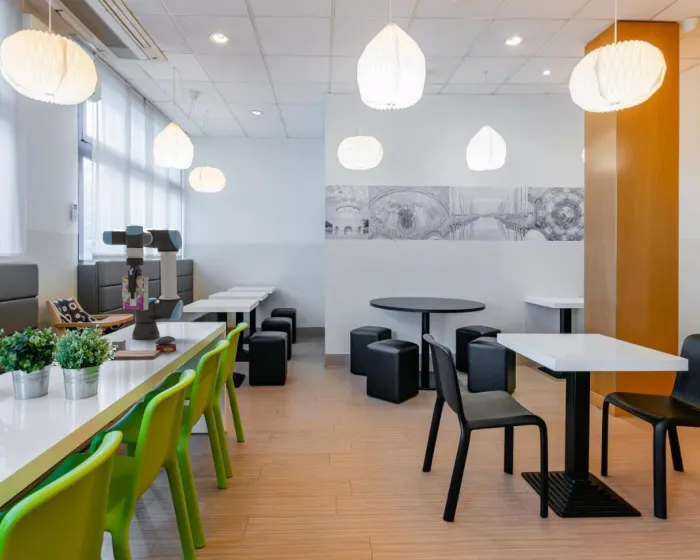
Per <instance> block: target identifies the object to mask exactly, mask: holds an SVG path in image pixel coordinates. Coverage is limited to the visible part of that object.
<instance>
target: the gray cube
mask: <svg viewBox="0 0 700 560" xmlns="http://www.w3.org/2000/svg"><path fill="white" fill-rule="evenodd" d="M126 343H127V341H126V339H114V340H113V341H111V346H112V345H118V347H117V348H116V351H115V352H117V351H126V349H127V346H126V345H127V344H126Z"/></svg>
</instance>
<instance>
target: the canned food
mask: <svg viewBox="0 0 700 560" xmlns="http://www.w3.org/2000/svg"><path fill="white" fill-rule="evenodd" d="M175 341H176V338H175V337H173V336H171V335H165V336H160V337H159V339H158V340H156V342H155V343H154V344H155V350H161V353H160V354H162V353H163V354H164V353H165V354H166V353H167V352H168V353H174V352H176V351H177V344H176V343H173V342H175ZM166 343H171V344H166Z"/></svg>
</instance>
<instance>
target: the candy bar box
mask: <svg viewBox="0 0 700 560" xmlns="http://www.w3.org/2000/svg"><path fill="white" fill-rule="evenodd" d="M148 298H149V276H146V275H142V276H138V277H137V278H136V306H130V292H128V275H122V276H121V310H122V311H135V310H142V311H144V310H148Z"/></svg>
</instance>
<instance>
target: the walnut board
mask: <svg viewBox="0 0 700 560" xmlns="http://www.w3.org/2000/svg"><path fill="white" fill-rule="evenodd" d="M114 353H115V356H114V359H113V360H116V361H121V360H126V361H127V360H154V359H155V358H157V357H158V356H159V355H160V354H162V353H161V350H156V349H154V350H153V349H149V350H147V349H146V350H145V349H141V350H138V349H137V350H129V349H128V350H123V351H115V352H114ZM113 360H112V361H113Z"/></svg>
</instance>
